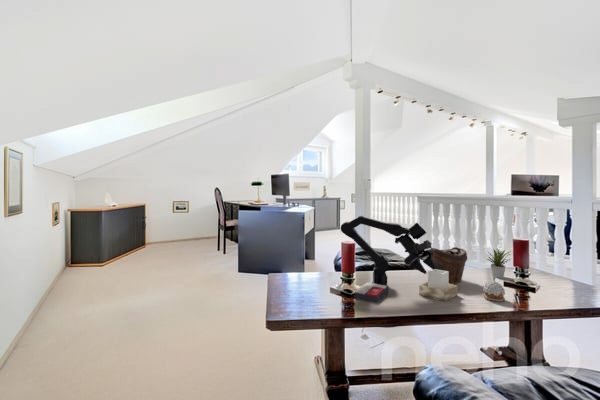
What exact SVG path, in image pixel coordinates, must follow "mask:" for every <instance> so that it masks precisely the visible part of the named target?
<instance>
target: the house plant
mask: <svg viewBox="0 0 600 400" xmlns="http://www.w3.org/2000/svg"><path fill="white" fill-rule="evenodd" d="M495 249H496V250H495ZM495 249H494V248H493V254H492V253H490V252H489V251H488V250H486V252H487V253H488V254H490V256H491V257H490V256H488V258H486V261H488V262H489V261H490V262H491V264H490V269H491V275H492V277H493V265H495V279H496V278H498V279H503V278H504V277H505V271H506V265H505V263H508V261H509V262H511V258H509V259H506V258H507V257H508V256H510V255H511V252H513V251H514V250H510V251H507V252H506V249H504V250H503V251H500V249H498V247H496V248H495ZM505 252H506V253H505ZM513 253H514V252H513Z"/></svg>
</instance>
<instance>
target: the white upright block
mask: <svg viewBox="0 0 600 400" xmlns="http://www.w3.org/2000/svg"><path fill="white" fill-rule="evenodd" d="M427 282H428V287H431V288H435V289H439V290H443V291H446V290H448V289H449V284H450V283H449V272H448V271H443V270H438V269H431V270H428V272H427Z"/></svg>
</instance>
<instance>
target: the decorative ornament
mask: <svg viewBox="0 0 600 400" xmlns="http://www.w3.org/2000/svg"><path fill="white" fill-rule="evenodd" d="M483 293H484V294H483V298H484V299H487V300H490V301H494V302H503V301H504V302H505V300H506V299H505V298H506V297H504V295H505V294H506V292H505V288H504V287H503V285H502V284H501V283H500V282H499V281H496V277H495V265H493V276H492V280H490V281H488V282H485V283H484V286H483Z"/></svg>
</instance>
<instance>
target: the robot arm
mask: <svg viewBox="0 0 600 400" xmlns="http://www.w3.org/2000/svg"><path fill="white" fill-rule="evenodd" d="M360 225H364V226H368V227H371V228H375V229H378V230H382V231H385V232H386V233H388V234H390V235H392V236H395V238H394V239H395V240H394V243H395V244H401V245H402V247H403V249H404V252H405V253H408V255H407V256H406V257H405V258H404V259H403V263H404V264H405V266H408V267H411V268H413V269H415V270H417V272H418V271H419V272H421V274H424V275H426V274H428V272H427V270H426V269H425V268H424V266H423V265H422V263H424V264H425V265H426V266H427V267H428V268H430V269H431V270H433V269H436V267H435V265H434V262H433V259H432V257H433V253H434V252H433V251H432V250H430V249H431V248H433V247H432V245H433V244H432V242H431V241H429V240H428V239H426V240H424V241H423V242H422V243H418V242H415V241H414V240H419V239H420V238H422V237H423V236H425V235H426V234H427V232H426V230H425V229H424V228H423V227H422V226H421V225H420V223H418V222H415V223H414V224H413V225H412V226H410V227H409V228H407V227H404V226H402V225H401V224H399V223H392V222H384V221H381V220H376V219H373V218H369V217H365V216H363V215H359V216H358V217H356V218H354V219H352V220H350V221H344V222H343V223H342V224H341V225H340V232H341V233H342V234H344V235H345V236H347V237H348V238H349V239H352V240H353V241H354V242H355V244H357V245H358V246H359V247H360V248H361V249H362V250H363V251H364V252H365V254H367V255H368V257H370V258H371V260H372V261H373V263H374V267H373V272H372V281H371V283H374V284H380V285H386V286H388V276H387V272H388V271H389V270H390V261H389V257H387V256H385V255H384V253H383V252H382V253H381V254H380V253H378V252H377V251H376V250H375V249H374V248H373V247H372V246H371V245H370V244H369V243H368V242H367V241H366V240H365V239H364V238H363V237H362V236H361V235H360V234H359V233H358V231H357V229H356V228H357V227H358V226H360ZM421 261H422V263H421Z"/></svg>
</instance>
